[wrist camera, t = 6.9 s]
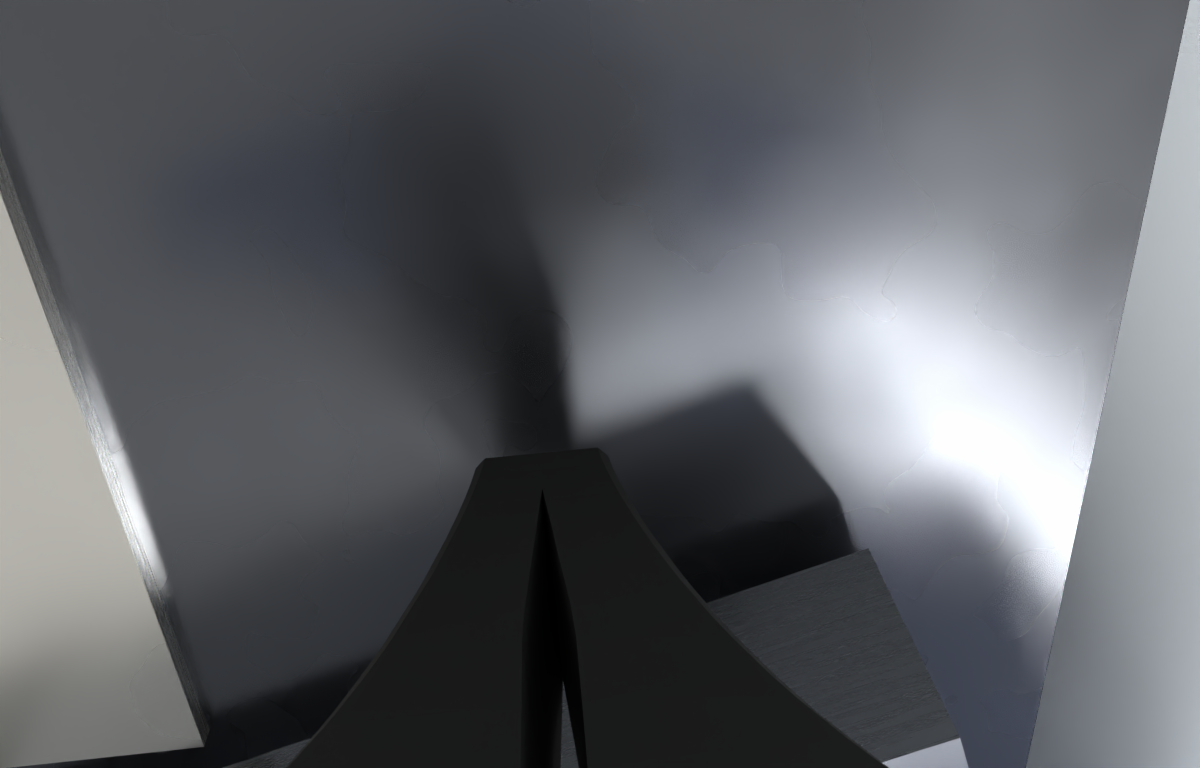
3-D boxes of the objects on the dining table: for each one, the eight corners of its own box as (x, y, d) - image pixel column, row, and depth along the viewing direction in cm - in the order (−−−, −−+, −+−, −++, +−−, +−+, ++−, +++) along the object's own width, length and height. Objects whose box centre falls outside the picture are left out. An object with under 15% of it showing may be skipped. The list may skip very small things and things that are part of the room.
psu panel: (985, 826, 18) (1014, 889, 17) (-184, 959, 17) (-227, 1033, 16) (1218, -384, 10) (1306, -404, 9) (-1080, -232, 9) (-1294, -235, 8)
